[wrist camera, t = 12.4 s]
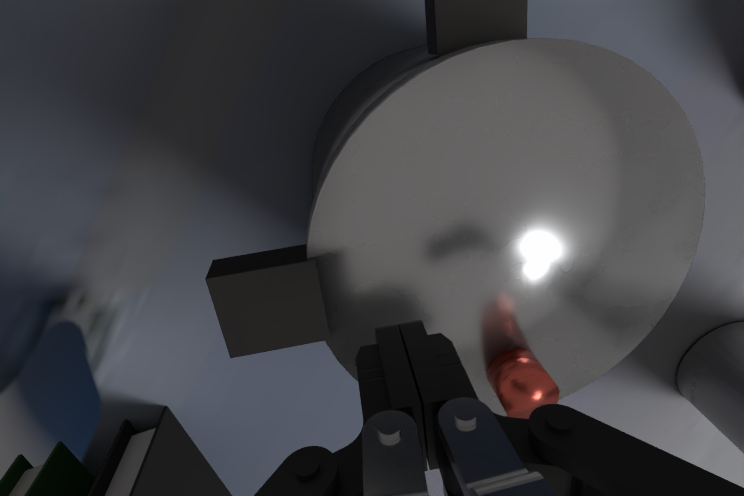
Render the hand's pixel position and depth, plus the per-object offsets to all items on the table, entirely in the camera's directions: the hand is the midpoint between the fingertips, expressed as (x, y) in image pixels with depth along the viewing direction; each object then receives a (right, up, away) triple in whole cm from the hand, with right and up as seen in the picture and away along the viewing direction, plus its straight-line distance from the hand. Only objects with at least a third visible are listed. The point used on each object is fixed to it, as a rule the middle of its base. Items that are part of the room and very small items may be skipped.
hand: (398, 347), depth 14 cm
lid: (+3, +3, +5) cm, 7 cm away
